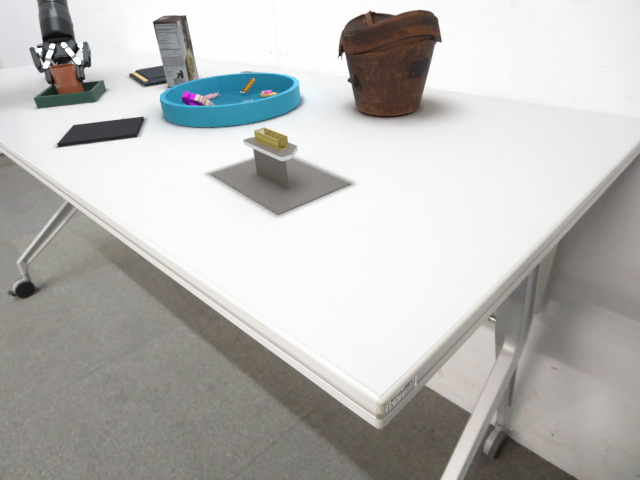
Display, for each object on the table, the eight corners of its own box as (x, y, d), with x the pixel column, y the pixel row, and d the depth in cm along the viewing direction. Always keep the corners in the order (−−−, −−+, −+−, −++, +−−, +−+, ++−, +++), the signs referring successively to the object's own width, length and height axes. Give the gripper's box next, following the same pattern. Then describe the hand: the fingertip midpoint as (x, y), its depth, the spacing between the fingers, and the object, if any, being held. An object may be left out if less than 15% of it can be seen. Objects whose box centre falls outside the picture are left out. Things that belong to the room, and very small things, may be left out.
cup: (58, 102, 112) (45, 69, 108) (64, 97, 117) (52, 65, 113) (83, 99, 113) (71, 66, 109) (88, 94, 118) (77, 62, 114)
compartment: (37, 108, 108) (33, 98, 107) (53, 95, 120) (49, 85, 118) (95, 101, 110) (92, 91, 109) (106, 89, 122) (103, 80, 120)
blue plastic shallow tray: (133, 121, 93) (125, 92, 90) (219, 86, 116) (214, 62, 113) (253, 133, 81) (249, 100, 78) (323, 91, 104) (321, 65, 101)
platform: (276, 151, 72) (271, 111, 69) (350, 183, 60) (349, 136, 57) (210, 173, 66) (201, 131, 63) (278, 214, 54) (271, 164, 51)
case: (360, 93, 100) (359, 4, 91) (448, 99, 91) (457, 1, 82) (321, 115, 88) (315, 14, 78) (419, 125, 79) (425, 13, 69)
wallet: (195, 71, 126) (140, 80, 120) (196, 77, 127) (142, 87, 121) (176, 61, 141) (127, 69, 135) (178, 68, 142) (129, 76, 136)
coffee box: (176, 78, 126) (162, 15, 117) (199, 77, 125) (187, 14, 116) (166, 87, 118) (151, 20, 109) (190, 86, 118) (177, 19, 109)
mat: (58, 146, 82) (56, 143, 82) (74, 127, 92) (73, 124, 92) (136, 136, 84) (135, 133, 84) (144, 119, 94) (143, 116, 94)
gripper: (19, 18, 110) (28, 77, 106) (81, 12, 113) (92, 69, 110) (32, 39, 117) (41, 95, 113) (90, 33, 120) (101, 87, 117)
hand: (66, 82), depth 111 cm, fingers closed on cup, 6 cm apart
